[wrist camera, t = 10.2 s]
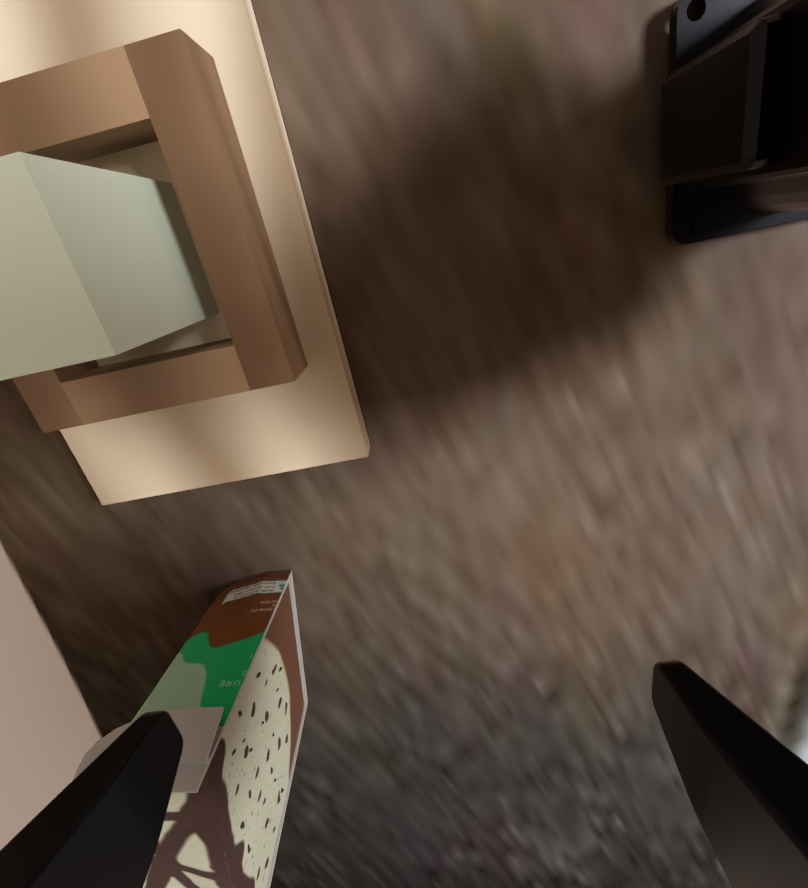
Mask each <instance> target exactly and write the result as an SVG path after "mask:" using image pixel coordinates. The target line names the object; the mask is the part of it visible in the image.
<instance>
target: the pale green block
mask: <svg viewBox="0 0 808 888" xmlns="http://www.w3.org/2000/svg"><path fill="white" fill-rule="evenodd" d="M218 313H219V311H218V308H217V306H216V303H215V300H214V298H213V295H212V292H211V290H210V287H209V284H208V281H207V279H206V276H205V273H204V271H203V268H202V265H201V262H200V260H199V257H198V254H197V252H196V249H195V246H194V243H193V241H192V238H191V235H190V233H189V230H188V227H187V225H186V222H185V219H184V216H183V214H182V211H181V208H180V206H179V203H178V200H177V197H176V195H175V192H174V189H173V187H172V184H171V183H168V182H163V181H159V180H154V179H149V178H144V177H139V176H134V175H129V174H125V173H120V172H115V171H110V170H105V169H100V168H95V167H91V166H86V165H81V164H76V163H71V162H66V161H61V160H57V159H52V158H47V157H42V156H37V155H32V154H27V153H23V152H16V153H12V154H8V155H5V156H1V157H0V381H1V380H6V379H10V378H15V377H19V376H24V375H28V374H33V373H37V372H42V371H47V370H51V369H56V368H60V367H65V366H69V365H74V364H78V363H83V362H87V361H92V360H97V359H101V358H106V357H110V356H115V355H118V354H120V353H123V352H125V351H127V350H130V349H132V348H135V347H137V346H140V345H142V344H145V343H147V342H150V341H152V340H155V339H157V338H159V337H162V336H164V335H167V334H169V333H172V332H174V331H177V330H179V329H182V328H184V327H186V326H189V325H191V324H194V323H196V322H199V321H201V320H204V319H206V318H209V317H211V316H213V315H216V314H218Z"/></svg>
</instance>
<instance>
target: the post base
mask: <svg viewBox="0 0 808 888" xmlns="http://www.w3.org/2000/svg"><path fill="white" fill-rule="evenodd" d="M16 152H23V153H27V154H32V155H37V156H42V157H47V158H52V159H57V160H61V161H66V162H71V163H76V164H81V165H86V166H91V167H95V168H100V169H105V170H110V171H115V172H120V173H125V174H129V175H134V176H139V177H144V178H149V179H154V180H159V181H163V182H168V183H171V184H172V187H173V189H174V192H175V195H176V197H177V200H178V203H179V206H180V208H181V211H182V214H183V216H184V219H185V222H186V225H187V227H188V230H189V233H190V235H191V238H192V241H193V243H194V246H195V249H196V252H197V254H198V257H199V260H200V262H201V265H202V268H203V271H204V273H205V276H206V279H207V281H208V284H209V287H210V290H211V292H212V295H213V298H214V300H215V303H216V306H217V308H218V311H219V313H218V314H216V315H213V316H211V317H209V318H206V319H204V320H201V321H199V322H196V323H194V324H191V325H189V326H186V327H184V328H182V329H179V330H177V331H174V332H172V333H169V334H167V335H164V336H162V337H159V338H157V339H155V340H152V341H150V342H147V343H145V344H142V345H140V346H137V347H135V348H132V349H130V350H127V351H125V352H123V353H120V354H118V355H115V356H110V357H106V358H101V359H97V360H92V361H87V362H83V363H78V364H74V365H69V366H65V367H60V368H56V369H51V370H47V371H42V372H37V373H33V374H28V375H24V376H19V377H15V378H12V380H13V382H14V383H15V385H16V387H17V388H18V390H19V392H20V394H21V395H22V397H23V399H24V400H25V402H26V404H27V405H28V407H29V409H30V411H31V412H32V414H33V416H34V417H35V419H36V421H37V423H38V424H39V426H40V428H41V429H42V431H43V433H47V432H52V431H57V430H60V432H61V433H62V435H63V437H64V439H65V440H66V442H67V444H68V446H69V447H70V449H71V451H72V453H73V454H74V456H75V458H76V460H77V461H78V463H79V465H80V467H81V468H82V470H83V472H84V474H85V475H86V477H87V479H88V481H89V482H90V484H91V486H92V488H93V489H94V491H95V493H96V495H97V496H98V498H99V500H100V502H101V503H102V505H108V504H114V503H119V502H124V501H130V500H135V499H141V498H146V497H152V496H157V495H162V494H168V493H173V492H179V491H184V490H190V489H195V488H201V487H206V486H211V485H217V484H222V483H228V482H233V481H239V480H244V479H249V478H255V477H260V476H266V475H271V474H277V473H282V472H288V471H293V470H298V469H304V468H309V467H315V466H320V465H326V464H331V463H336V462H342V461H347V460H353V459H358V458H364V457H368V455H369V451H370V442H369V439H368V435H367V431H366V427H365V424H364V420H363V416H362V413H361V409H360V405H359V401H358V398H357V394H356V390H355V387H354V383H353V379H352V375H351V372H350V368H349V364H348V361H347V357H346V353H345V349H344V346H343V342H342V338H341V335H340V331H339V327H338V323H337V320H336V316H335V312H334V309H333V305H332V301H331V297H330V294H329V290H328V286H327V283H326V279H325V275H324V271H323V268H322V264H321V260H320V257H319V253H318V249H317V245H316V242H315V238H314V234H313V231H312V227H311V223H310V219H309V216H308V212H307V208H306V205H305V201H304V197H303V193H302V190H301V186H300V182H299V179H298V175H297V171H296V167H295V164H294V160H293V156H292V153H291V149H290V145H289V141H288V138H287V134H286V130H285V127H284V123H283V119H282V115H281V112H280V108H279V104H278V101H277V97H276V93H275V89H274V86H273V82H272V78H271V75H270V71H269V67H268V63H267V60H266V56H265V52H264V49H263V45H262V41H261V37H260V34H259V30H258V26H257V23H256V19H255V15H254V11H253V8H252V4H251V0H0V157H1V156H5V155H8V154H12V153H16Z"/></svg>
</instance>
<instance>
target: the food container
mask: <svg viewBox="0 0 808 888" xmlns="http://www.w3.org/2000/svg"><path fill="white" fill-rule="evenodd" d="M307 704H308V700H307V691H306V683H305V675H304V667H303V659H302V651H301V642H300V634H299V626H298V618H297V610H296V602H295V593H294V585H293V577H292V570H286V571H268V572H264V573H261V574H258V575H254V576H251V577H247V578H244V579H241V580H239V581H237V582H236V583H234V584H233V585H231V586H230V587H228V588H227V589H226V590H224V591H223V592H221V593H220V594H218V596H217V597H216V599H215V600H214V602H213V603H212V605H211V606H210V608H209V609H208V610H207V612H206V613H205V615H204V616H203V618H202V619H201V621H200V622H199V624H198V625H197V627H196V628H195V629H194V631H193V632H192V634H191V635H190V637H189V638H188V640H187V641H186V643H185V644H184V646H183V647H182V648H181V650H180V651H179V653H178V654H177V656H176V657H175V659H174V660H173V662H172V663H171V665H170V666H169V668H168V669H167V670H166V672H165V673H164V675H163V676H162V678H161V679H160V681H159V682H158V684H157V685H156V687H155V688H154V689H153V691H152V692H151V694H150V695H149V697H148V698H147V700H146V701H145V703H144V704H143V706H142V707H141V708H140V710H139V711H138V713H137V714H136V716H135V717H134V719H133V720H132V722H130V723H128V724H125V725H123V726H121V727H119V728H117V729H115V730H113V731H112V732H110V733H109V734H107V735H106V736H104V737H103V738H102V739H100V740H99V741H97V742H96V743H95V745H94V746H93V747H92V748H91V749H90V750H89V751H88V752H87V753H86V754H85V756H84V758H83V760H82V762H81V763H80V765H79V767H78V769H77V771H76V774H75V776H74V779H75V778H76V777H77V776H78V775H79V774H80V773H81V772H82V771H83V770H84V769H85V768H87V767H88V766H89V765H90V764H91V763H92V762H93V761H94V760H95V759H96V758H97V757H98V756H99V755H100V754H101V753H102V752H103V751H104V750H105V749H106V748H107V747H108V746H109V745H110V744H111V743H112V742H114V741H115V740H116V739H117V738H118V737H119V736H120V735H121V734H122V733H123V732H124V731H125V730H126V729H127V728H128V727H129V726H130V725H131V724H132V723H133V722H134V721H135V720H136V719H137V718H139V717H140V716H141V715H142V714H144V713H146V712H152V711H162V710H164V711H167V712H168V713H169V714H170V716H171V717H172V719H173V721H174V723H175V724H176V726H177V728H178V729H179V731H180V733H181V735H182V737H183V750H182V755H181V758H180V762H179V766H178V770H177V774H176V778H175V781H174V785H173V789H172V793H171V797H170V800H169V804H168V808H167V812H166V816H165V819H164V823H163V827H162V831H161V834H160V838H159V841H158V844H157V848H156V851H155V854H154V857H153V860H152V863H151V866H150V868H149V871H148V874H147V877H146V880H145V883H144V885H143V888H270V885H271V880H272V875H273V870H274V865H275V861H276V856H277V851H278V846H279V841H280V836H281V831H282V826H283V821H284V816H285V812H286V807H287V802H288V797H289V792H290V787H291V782H292V777H293V772H294V768H295V763H296V758H297V753H298V748H299V743H300V738H301V733H302V728H303V723H304V719H305V714H306V709H307ZM74 779H73V780H74Z"/></svg>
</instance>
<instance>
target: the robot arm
mask: <svg viewBox="0 0 808 888" xmlns="http://www.w3.org/2000/svg"><path fill="white" fill-rule="evenodd" d="M689 4H694V5H695V6H696V7H697V10H698V15H697V19H696V21H690V20H689V19H688V18H687V13H686V12H687V7H688V5H689ZM660 177H661V180H662V181H663V182H664V183H665V184H666V236H667V238H668V240H669V241H670V242H672V243H674V244H690V243H694V242H699V241H704V240H708V239H713V238H717V237H722V236H726V235H731V234H736V233H740V232H745V231H749V230H754V229H758V228H763V227H768V226H772V225H777V224H781V223H786V222H791V221H795V220H800V219H804V218H808V0H678V1H677V2H676V4H675V6H674V8H673V10H672V12H671V17H670V38H669V77H668V79H667V80H666V81H665V83H664V84H663V86H662V110H661V174H660ZM685 220H687V221H688V222H689V225H690V226H689V230H688V231H687V232H686V234H684V235H682V234H681V233H680V226H681V224H682V223H683V221H685ZM652 700H653V704H654V707H655V710H656V713H657V715H658V718H659V721H660V723H661V726H662V728H663V731H664V734H665V736H666V739H667V741H668V744H669V747H670V749H671V752H672V754H673V757H674V760H675V762H676V765H677V767H678V770H679V773H680V775H681V778H682V780H683V783H684V786H685V788H686V791H687V793H688V796H689V798H690V801H691V803H692V806H693V808H694V810H695V813H696V815H697V817H698V819H699V821H700V823H701V825H702V828H703V830H704V832H705V834H706V836H707V838H708V840H709V842H710V844H711V846H712V848H713V850H714V852H715V854H716V856H717V858H718V860H719V862H720V864H721V866H722V868H723V870H724V872H725V874H726V876H727V878H728V880H729V882H730V884H731V886H732V888H808V764H807V763H806V762H805V761H803V760H802V759H801V758H800V757H798V756H797V755H796V754H795V753H794V752H792V751H791V750H790V749H789V748H787V747H786V746H785V745H784V744H782V743H781V742H780V741H779V740H778V739H776V738H775V737H774V736H773V735H771V734H770V733H769V732H768V731H767V730H765V729H764V728H763V727H762V726H760V725H759V724H758V723H757V722H755V721H754V720H753V719H752V718H751V717H749V716H748V715H747V714H746V713H744V712H743V711H742V710H741V709H740V708H738V707H737V706H736V705H735V704H733V703H732V702H731V701H730V700H728V699H727V698H726V697H725V696H724V695H722V694H721V693H720V692H719V691H717V690H716V689H715V688H714V687H713V686H711V685H710V684H709V683H708V682H706V681H705V680H704V679H703V678H702V677H700V676H699V675H698V674H697V673H695V672H694V671H693V670H692V669H690V668H689V667H688V666H687V665H685V664H684V663H682V662H680V661H677V660H673V661H663V662H657V663H656V664H655V665H654V668H653V681H652ZM182 750H183V737H182V735H181V733H180V731H179V729H178V728H177V726H176V724H175V723H174V721H173V719H172V717H171V716H170V714H169V713H168V712H167V711H164V710H162V711H152V712H146V713H144V714H142V715H141V716H140V717H139V718H137V719H136V720H135V721H134V722H133V723H132V724H131V725H130V726H129V727H128V728H127V729H126V730H125V731H124V732H123V733H122V734H121V735H120V736H119V737H118V738H117V739H116V740H115V741H114V742H112V743H111V744H110V745H109V746H108V747H107V748H106V749H105V750H104V751H103V752H102V753H101V754H100V755H99V756H98V757H97V758H96V759H95V760H94V761H93V762H92V763H91V764H90V765H89V766H88V767H87V768H85V769H84V770H83V771H82V772H81V773H80V774H79V775H78V776H77V777H76V778H75V779H74V780H73V781H72V782H71V783H70V784H69V785H68V786H67V787H66V788H65V789H64V790H63V791H62V792H61V793H60V794H58V795H57V796H56V797H55V798H54V799H53V800H52V801H51V802H50V803H49V804H48V805H47V806H46V807H45V808H44V809H43V810H42V811H41V812H40V813H39V814H38V815H37V816H36V817H35V818H34V819H32V820H31V822H29V823H28V824H27V825H26V826H25V827H24V828H23V829H22V830H21V831H20V832H19V833H18V834H17V835H16V836H15V837H14V838H13V839H12V840H11V841H10V842H9V843H8V844H7V845H6V846H4V847H3V848H2V849H1V850H0V888H143V885H144V883H145V880H146V877H147V874H148V871H149V868H150V866H151V863H152V860H153V857H154V854H155V851H156V848H157V844H158V841H159V838H160V834H161V831H162V827H163V823H164V819H165V816H166V812H167V808H168V804H169V800H170V797H171V793H172V789H173V785H174V781H175V778H176V774H177V770H178V766H179V762H180V758H181V755H182Z"/></svg>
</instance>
